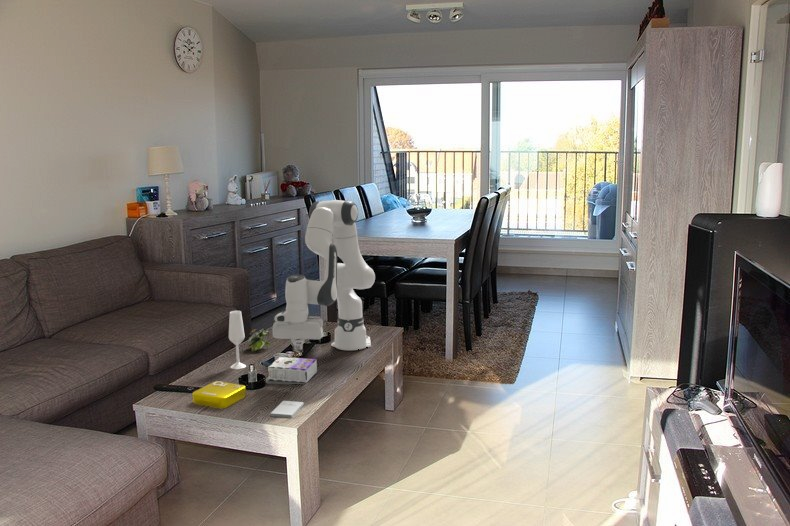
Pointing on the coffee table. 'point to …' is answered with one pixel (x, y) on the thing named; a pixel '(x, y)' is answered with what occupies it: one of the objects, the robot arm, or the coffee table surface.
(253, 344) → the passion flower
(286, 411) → the external hard drive
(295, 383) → the mat
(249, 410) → the coffee table surface
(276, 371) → the candy box
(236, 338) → the champagne flute
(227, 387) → the element tile
